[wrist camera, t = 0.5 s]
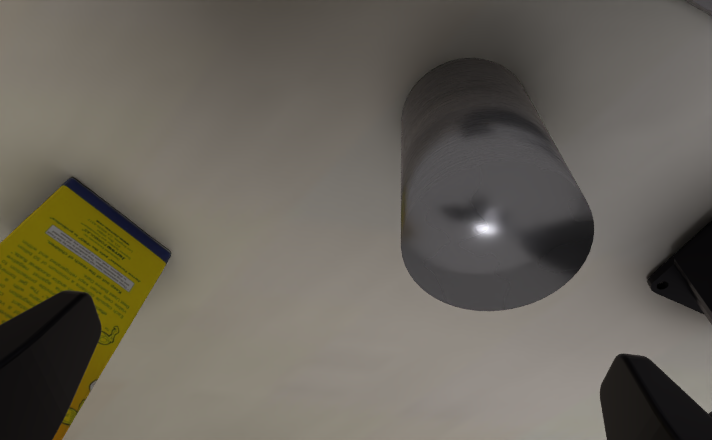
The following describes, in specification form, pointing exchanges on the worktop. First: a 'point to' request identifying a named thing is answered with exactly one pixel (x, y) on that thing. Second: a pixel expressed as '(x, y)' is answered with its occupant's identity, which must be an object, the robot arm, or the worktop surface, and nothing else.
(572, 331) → the worktop surface
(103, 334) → the supplement box
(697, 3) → the dark grey u-shaped piece
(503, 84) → the cylinder
